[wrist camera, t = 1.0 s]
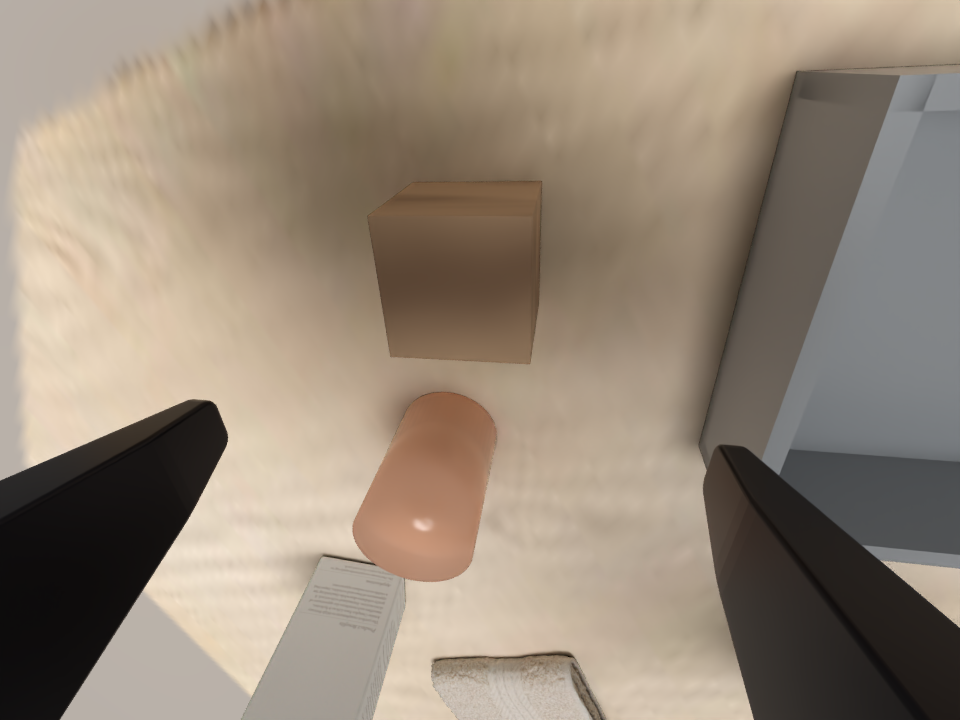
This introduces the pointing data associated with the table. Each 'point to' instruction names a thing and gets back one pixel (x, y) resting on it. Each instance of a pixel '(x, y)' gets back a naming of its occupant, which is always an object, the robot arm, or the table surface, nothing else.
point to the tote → (857, 311)
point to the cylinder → (429, 490)
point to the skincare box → (333, 646)
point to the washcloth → (515, 688)
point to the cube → (460, 269)
